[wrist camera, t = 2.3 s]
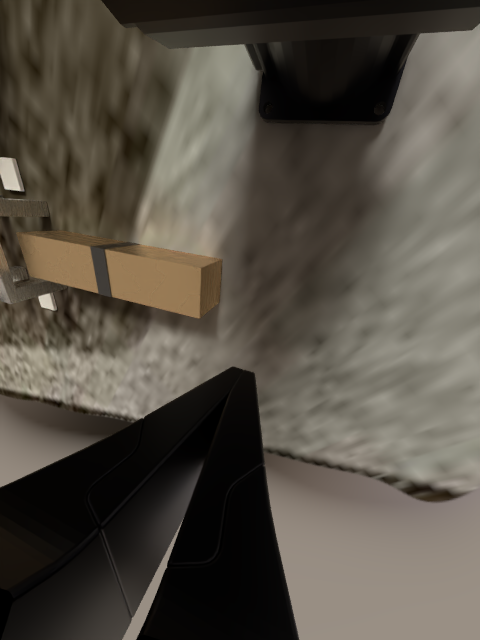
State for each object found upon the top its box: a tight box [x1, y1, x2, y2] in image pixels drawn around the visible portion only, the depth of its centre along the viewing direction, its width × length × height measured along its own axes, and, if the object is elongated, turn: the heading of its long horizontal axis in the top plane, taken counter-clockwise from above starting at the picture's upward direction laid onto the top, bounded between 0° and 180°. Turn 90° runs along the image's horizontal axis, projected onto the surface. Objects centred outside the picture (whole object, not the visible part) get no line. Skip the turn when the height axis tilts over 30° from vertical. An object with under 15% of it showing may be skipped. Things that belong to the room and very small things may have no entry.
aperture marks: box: [0, 157, 57, 311], centre depth 22 cm, size 2×14×1 cm, turn 173°
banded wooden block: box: [16, 230, 222, 319], centre depth 18 cm, size 16×4×4 cm, turn 83°
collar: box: [0, 198, 67, 304], centre depth 20 cm, size 1×8×5 cm, turn 174°
